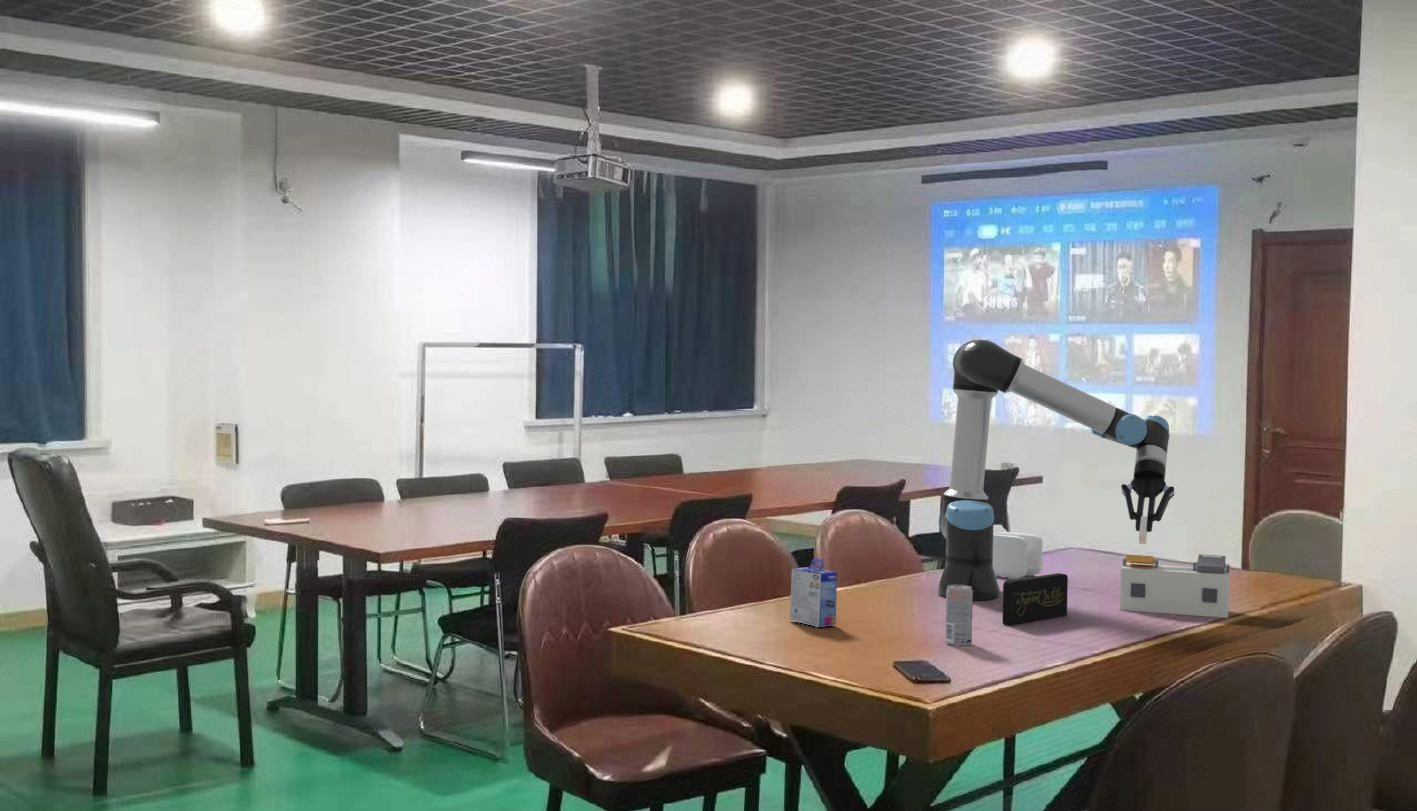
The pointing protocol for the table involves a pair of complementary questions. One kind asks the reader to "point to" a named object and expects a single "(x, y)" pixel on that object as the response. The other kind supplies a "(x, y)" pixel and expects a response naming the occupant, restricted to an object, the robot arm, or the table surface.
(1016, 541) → the cable organizer
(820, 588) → the ink cartridge box
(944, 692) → the table surface
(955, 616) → the energy drink
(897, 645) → the table surface
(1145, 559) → the rocker orange
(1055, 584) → the nameplate
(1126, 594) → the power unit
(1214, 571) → the rocker charcoal
